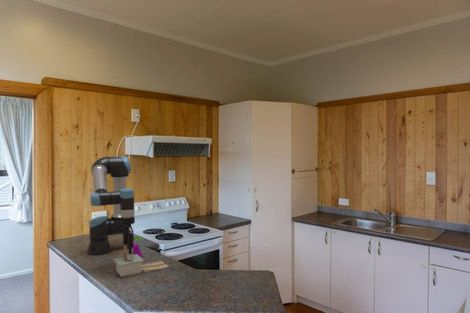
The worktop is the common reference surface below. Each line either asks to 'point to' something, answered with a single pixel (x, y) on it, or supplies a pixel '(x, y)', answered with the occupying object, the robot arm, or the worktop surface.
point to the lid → (124, 262)
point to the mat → (154, 266)
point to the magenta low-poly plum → (136, 247)
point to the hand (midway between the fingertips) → (128, 258)
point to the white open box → (129, 270)
